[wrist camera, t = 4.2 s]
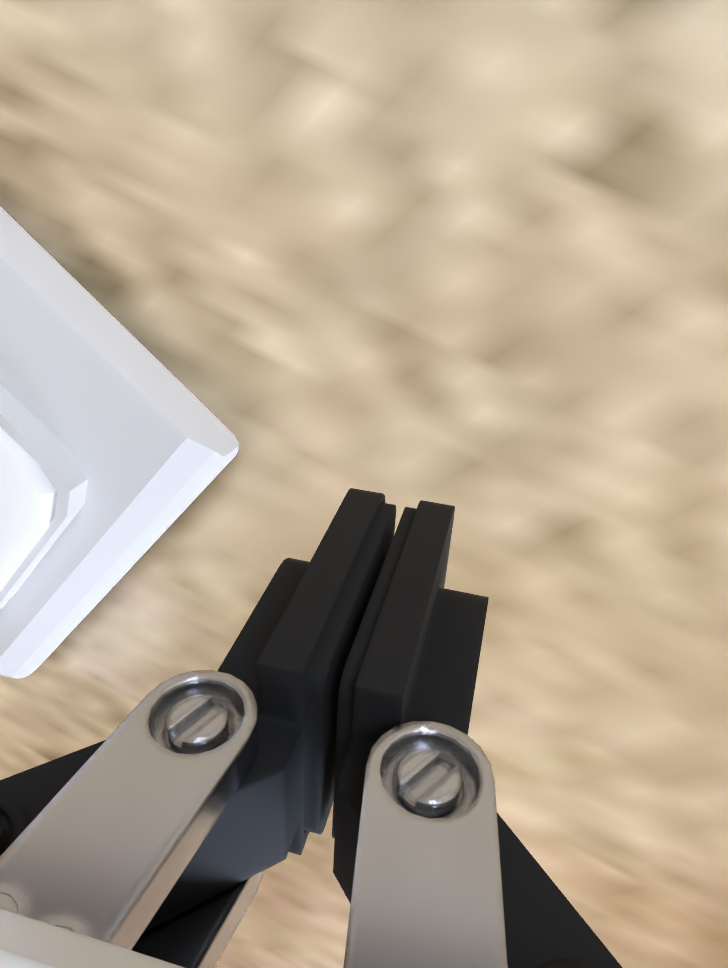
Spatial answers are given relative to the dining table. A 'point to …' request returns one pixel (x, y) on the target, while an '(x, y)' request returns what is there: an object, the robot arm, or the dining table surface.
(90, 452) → the light switch
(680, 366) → the dining table surface
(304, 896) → the dining table surface
